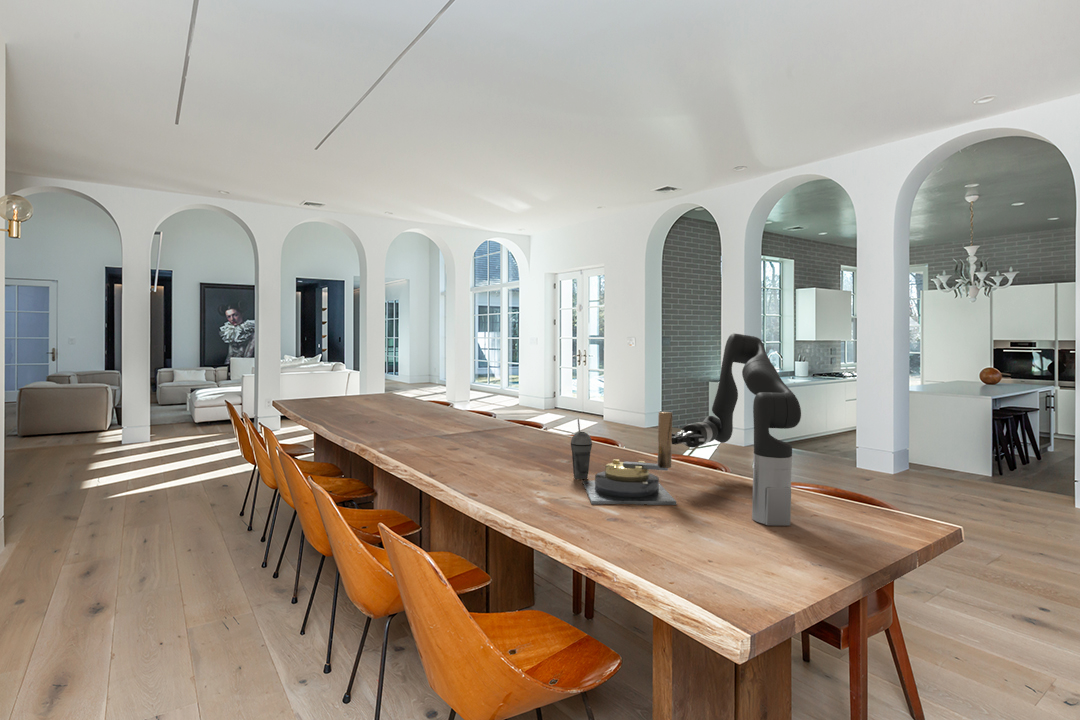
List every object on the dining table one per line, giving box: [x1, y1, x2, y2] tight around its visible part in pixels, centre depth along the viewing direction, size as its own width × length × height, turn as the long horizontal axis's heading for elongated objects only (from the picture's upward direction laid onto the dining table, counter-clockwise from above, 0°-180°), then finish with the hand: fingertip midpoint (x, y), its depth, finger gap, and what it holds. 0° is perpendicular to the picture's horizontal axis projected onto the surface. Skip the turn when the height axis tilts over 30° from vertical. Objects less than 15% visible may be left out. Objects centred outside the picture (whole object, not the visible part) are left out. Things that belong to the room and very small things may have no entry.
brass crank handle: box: [604, 411, 673, 482], centre depth 176 cm, size 20×13×20 cm, turn 74°
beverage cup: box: [570, 418, 593, 481], centre depth 196 cm, size 7×7×20 cm
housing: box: [582, 470, 677, 506], centre depth 178 cm, size 24×24×5 cm
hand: (673, 440), depth 178 cm, fingers closed
